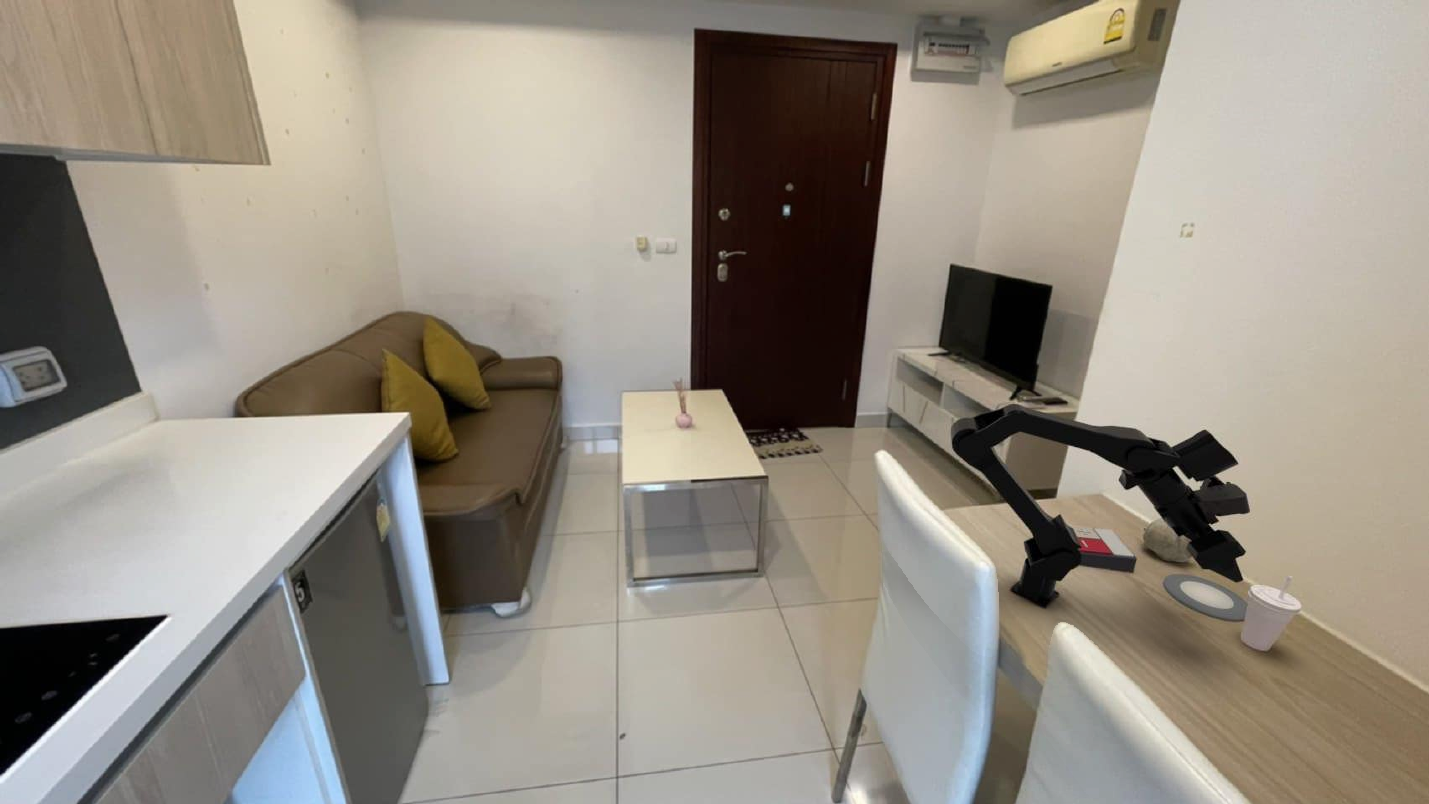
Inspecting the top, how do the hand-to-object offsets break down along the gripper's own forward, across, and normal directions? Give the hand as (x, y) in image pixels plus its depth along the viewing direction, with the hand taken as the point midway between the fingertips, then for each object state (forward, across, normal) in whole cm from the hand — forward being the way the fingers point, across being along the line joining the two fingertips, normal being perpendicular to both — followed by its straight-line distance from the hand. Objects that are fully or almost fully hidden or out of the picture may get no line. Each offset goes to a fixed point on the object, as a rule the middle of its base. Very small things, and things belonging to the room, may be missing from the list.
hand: (1225, 564), depth 95 cm
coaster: (+13, +12, +6) cm, 19 cm away
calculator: (0, +20, +20) cm, 28 cm away
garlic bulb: (+12, +26, +8) cm, 29 cm away
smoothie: (+15, 0, +4) cm, 16 cm away
